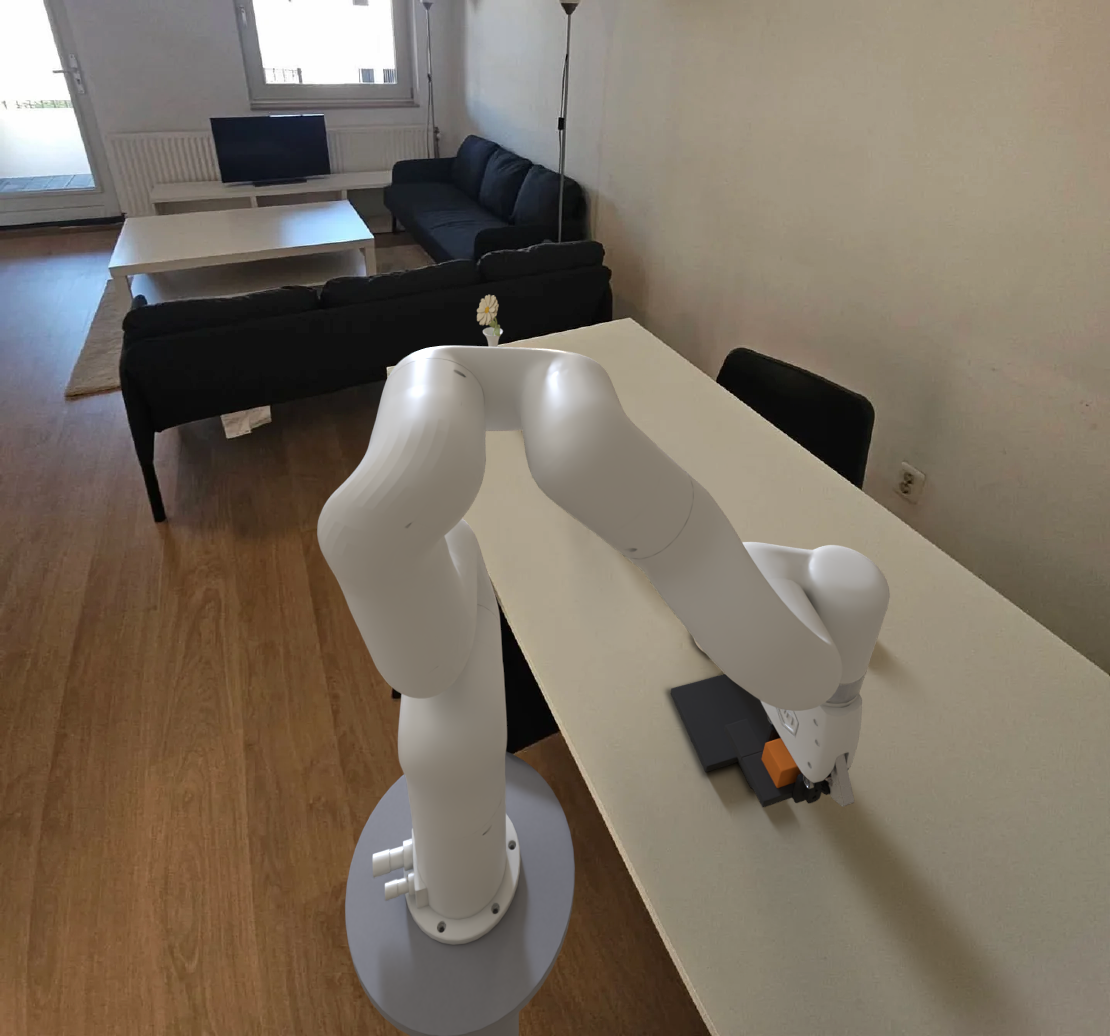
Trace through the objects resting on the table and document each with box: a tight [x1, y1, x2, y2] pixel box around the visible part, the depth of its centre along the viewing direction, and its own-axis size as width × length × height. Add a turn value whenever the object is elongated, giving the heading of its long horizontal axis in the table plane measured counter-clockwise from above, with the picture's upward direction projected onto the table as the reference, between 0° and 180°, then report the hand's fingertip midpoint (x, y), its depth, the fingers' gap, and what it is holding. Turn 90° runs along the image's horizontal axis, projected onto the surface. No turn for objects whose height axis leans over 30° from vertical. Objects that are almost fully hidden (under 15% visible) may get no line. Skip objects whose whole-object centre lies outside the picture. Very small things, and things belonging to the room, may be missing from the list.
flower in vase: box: [476, 294, 504, 347], centre depth 153 cm, size 13×11×25 cm
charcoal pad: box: [670, 673, 770, 790], centre depth 79 cm, size 12×13×1 cm
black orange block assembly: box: [724, 719, 802, 808], centre depth 68 cm, size 10×8×4 cm
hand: (791, 769), depth 67 cm, fingers closed on black orange block assembly, 4 cm apart
